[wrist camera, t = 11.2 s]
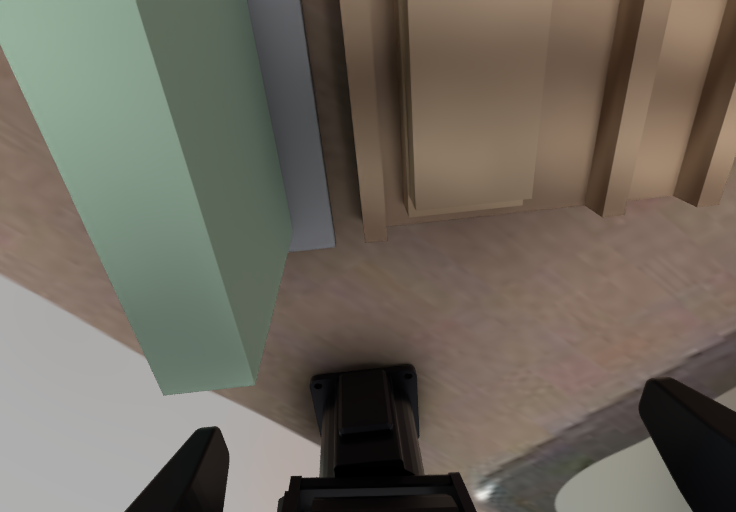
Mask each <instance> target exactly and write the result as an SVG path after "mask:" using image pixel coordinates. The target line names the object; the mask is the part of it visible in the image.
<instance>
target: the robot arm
mask: <svg viewBox="0 0 736 512" xmlns="http://www.w3.org/2000/svg"><path fill="white" fill-rule="evenodd" d="M407 373H410V374H408V375H406V374H407ZM316 383H320V384H316ZM310 389H311V394H312V398H313V403H314V408H315V412H316V417H317V421H318V426H319V430H320V435H321V456H320V475H319V478H318V477H316V478H302V476H291V479H290V485H289V491H285V495H284V496H283V497H282V498H280V499H279V501H278V509H277V512H477V511H476V509H475V507H474V505H473V502H472V500H471V498H470V496H469V493H468V491H467V489H466V486H465V484H464V482H463V480H462V477H461V475H460V473H459V472H453V473H448V475H425V474H424V469H423V464H422V459H421V453H420V448H419V443H418V438H419V416H418V395H417V375H416V371H415V368H414V367H413V366H398V367H389V368H380V369H371V370H361V371H352V372H343V373H334V374H325V375H317V376H314V377H312V378H311V381H310ZM639 414H640V416H641V419H642V421H643V423H644V424H645V426H646V428H647V430H648V432H649V434H650V436H651V438H652V440H653V442H654V444H655V445H656V447H657V449H658V451H659V453H660V455H661V457H662V459H663V461H664V462H665V464H666V466H667V468H668V470H669V472H670V474H671V476H672V478H673V480H674V481H675V483H676V485H677V487H678V489H679V490H680V492H681V493H682V495H683V497H684V498H685V500H686V502H687V503H688V504H689V506H690V508H691V509H692V511H693V512H736V412H735V411H733V410H731V409H729V408H727V407H726V406H724V405H722V404H720V403H718V402H716V401H714V400H713V399H711V398H709V397H707V396H705V395H703V394H701V393H700V392H698V391H696V390H694V389H692V388H690V387H688V386H687V385H685V384H683V383H681V382H679V381H677V380H675V379H673V378H671V377H658V378H651V379H649V380H647V381H646V383H645V386H644V390H643V393H642V396H641V399H640V402H639ZM228 469H229V451H228V448H227V446H226V443H225V441H224V438H223V435H222V433H221V430H220V429H219V428H218V427H216V426H214V427H204V428H200V429H197V430H196V431H195V432H194V433H193V434H192V435H191V436H190V438H189V439H188V440H187V441H186V442H185V443H184V445H182V447H181V448H180V449H179V450H178V451H177V452H176V453H175V455H174V456H173V457H172V458H171V459H170V460H169V462H168V463H167V464H166V465H165V466H164V467H163V468H162V469H161V471H160V472H159V473H158V474H157V475H156V476H155V477H154V479H153V480H152V481H151V482H150V483H149V484H148V486H147V487H146V488H145V489H144V490H143V491H142V492H141V493H140V495H139V496H138V497H137V498H136V499H135V500H134V501H133V502H132V504H131V505H130V506H129V507H128V508H127V509H126V510H125V512H223V507H224V499H225V492H226V484H227V476H228Z"/></svg>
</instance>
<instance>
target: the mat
mask: <svg viewBox="0 0 736 512" xmlns="http://www.w3.org/2000/svg"><path fill="white" fill-rule="evenodd" d="M247 4H248V9H249V14H250V19H251V24H252V29H253V34H254V39H255V44H256V49H257V54H258V59H259V64H260V69H261V74H262V79H263V84H264V89H265V94H266V99H267V104H268V109H269V114H270V119H271V124H272V129H273V134H274V139H275V144H276V148H277V153H278V158H279V163H280V168H281V173H282V178H283V183H284V188H285V193H286V198H287V203H288V208H289V213H290V218H291V223H292V228H293V234H292V238H291V242H290V246H289V250H288V252H294V251H304V250H313V249H322V248H332V247H336V241H335V234H334V227H333V220H332V213H331V206H330V199H329V192H328V185H327V178H326V171H325V165H324V158H323V151H322V144H321V137H320V130H319V123H318V116H317V109H316V102H315V95H314V88H313V81H312V74H311V67H310V61H309V54H308V47H307V40H306V33H305V26H304V19H303V12H302V5H301V0H247Z"/></svg>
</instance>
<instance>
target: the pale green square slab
mask: <svg viewBox="0 0 736 512" xmlns="http://www.w3.org/2000/svg"><path fill="white" fill-rule="evenodd" d="M0 45H1V47H2V49H3V51H4V53H5V56H6V58H7V60H8V62H9V64H10V66H11V69H12V71H13V73H14V75H15V77H16V79H17V81H18V84H19V86H20V88H21V90H22V92H23V94H24V96H25V99H26V101H27V103H28V105H29V107H30V109H31V112H32V114H33V116H34V118H35V120H36V122H37V124H38V127H39V129H40V131H41V133H42V135H43V137H44V139H45V142H46V144H47V146H48V148H49V150H50V152H51V155H52V157H53V159H54V161H55V163H56V165H57V167H58V170H59V172H60V174H61V176H62V178H63V180H64V183H65V185H66V187H67V189H68V191H69V193H70V195H71V198H72V200H73V202H74V204H75V206H76V208H77V210H78V213H79V215H80V217H81V219H82V221H83V223H84V226H85V228H86V230H87V232H88V234H89V236H90V238H91V241H92V243H93V245H94V247H95V249H96V251H97V254H98V256H99V258H100V260H101V262H102V264H103V266H104V269H105V271H106V273H107V275H108V277H109V279H110V281H111V284H112V286H113V288H114V290H115V292H116V294H117V297H118V299H119V301H120V303H121V305H122V307H123V309H124V312H125V314H126V316H127V318H128V320H129V322H130V325H131V327H132V329H133V331H134V333H135V335H136V337H137V340H138V342H139V344H140V346H141V348H142V350H143V352H144V355H145V357H146V359H147V361H148V363H149V365H150V367H151V370H152V372H153V374H154V376H155V378H156V380H157V383H158V384H159V387H160V389H161V391H162V393H163V395H172V394H182V393H190V392H199V391H208V390H217V389H226V388H235V387H243V386H252V385H255V384H256V380H257V376H258V372H259V368H260V363H261V359H262V355H263V351H264V347H265V343H266V339H267V335H268V331H269V327H270V323H271V319H272V315H273V311H274V307H275V303H276V299H277V295H278V291H279V287H280V282H281V278H282V274H283V270H284V266H285V262H286V258H287V254H288V250H289V246H290V242H291V238H292V234H293V228H292V223H291V218H290V213H289V208H288V203H287V198H286V193H285V188H284V183H283V178H282V173H281V168H280V163H279V158H278V153H277V148H276V144H275V139H274V134H273V129H272V124H271V119H270V114H269V109H268V104H267V99H266V94H265V89H264V84H263V79H262V74H261V69H260V64H259V59H258V54H257V49H256V44H255V39H254V34H253V29H252V24H251V19H250V14H249V9H248V4H247V0H0Z"/></svg>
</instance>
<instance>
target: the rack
mask: <svg viewBox="0 0 736 512" xmlns="http://www.w3.org/2000/svg"><path fill="white" fill-rule="evenodd" d="M340 10H341V19H342V29H343V38H344V48H345V57H346V66H347V76H348V85H349V95H350V104H351V114H352V123H353V132H354V142H355V151H356V161H357V170H358V180H359V189H360V198H361V208H362V217H363V226H364V235H365V243H369V242H378V241H388V238H387V226H397V225H406V224H415V223H424V222H434V221H443V220H452V219H462V218H471V217H480V216H490V215H499V214H508V213H517V212H527V211H536V210H545V209H555V208H564V207H573V206H582V205H585V206H587V207H588V208H590V209H591V210H592V211H594V212H595V213H597V214H598V215H600V216H601V217H610V216H620V215H624V214H625V210H626V205H627V201H629V200H638V199H648V198H657V197H666V196H675V197H677V198H679V199H681V200H683V201H685V202H687V203H689V204H691V205H694V206H696V207H703V206H712V205H719V203H720V200H721V197H722V194H723V191H724V188H725V185H726V182H727V179H728V176H729V173H730V170H731V167H732V164H733V161H734V159H735V156H736V0H552V10H551V19H550V29H549V39H548V48H547V58H546V67H545V77H544V87H543V96H542V106H541V115H540V125H539V134H538V144H537V154H536V163H535V173H534V182H533V192H532V199H524V200H523V205H521V206H512V207H502V208H493V209H484V210H475V211H465V212H456V213H447V214H437V215H428V216H419V217H408V214H407V211H406V208H405V206H404V191H403V172H402V153H401V134H400V115H399V96H398V77H397V58H396V39H395V20H394V1H393V0H340Z"/></svg>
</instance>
